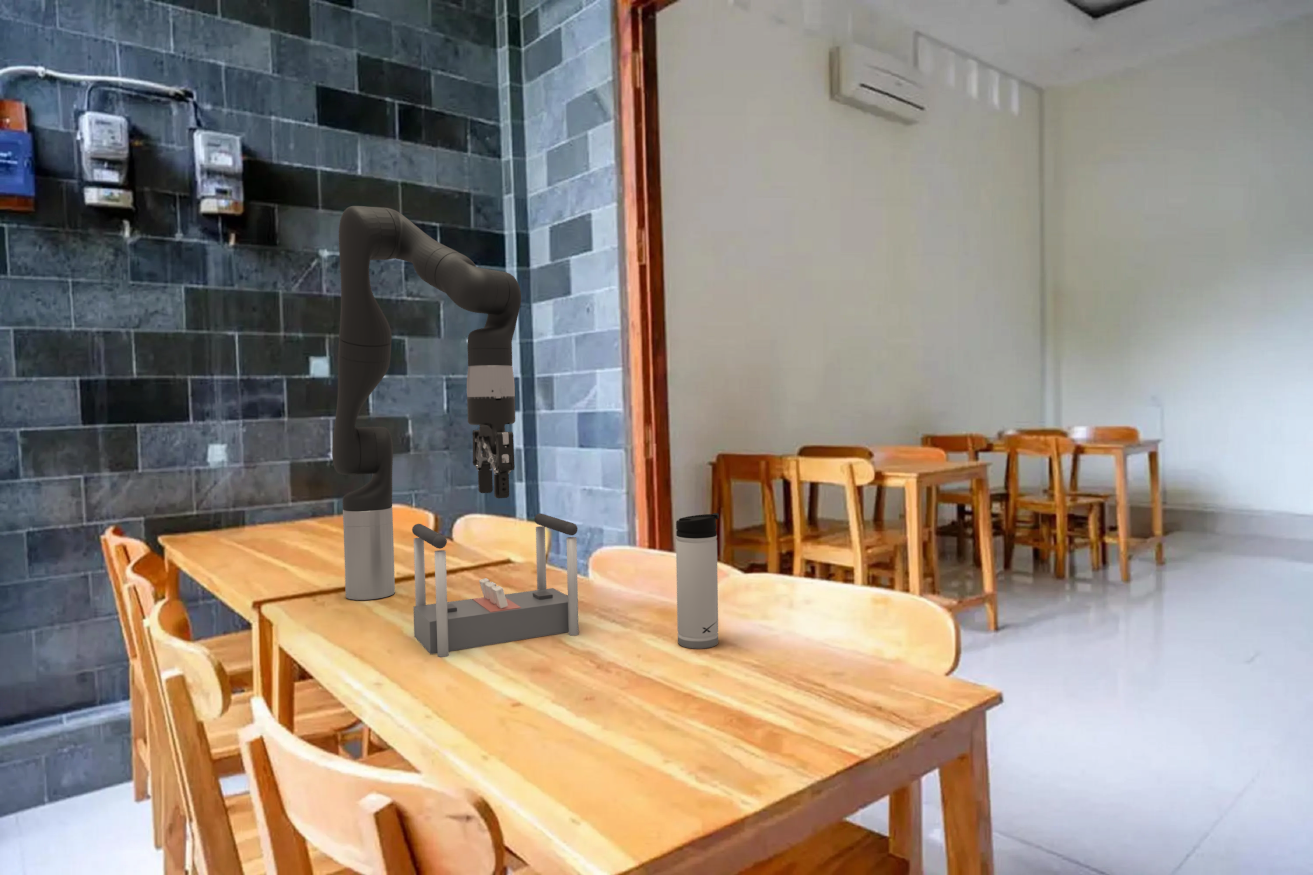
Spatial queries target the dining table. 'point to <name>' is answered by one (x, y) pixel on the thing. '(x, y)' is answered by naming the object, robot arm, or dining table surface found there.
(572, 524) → the dark grey rod
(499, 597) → the breaker paddles
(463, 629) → the pdu
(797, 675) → the dining table surface
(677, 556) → the travel mug
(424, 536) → the dark grey rounded rod
